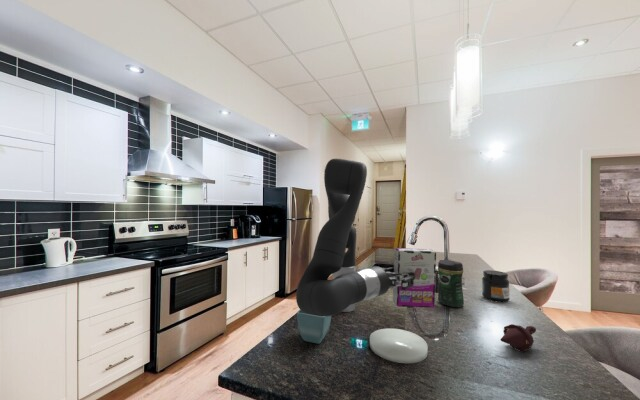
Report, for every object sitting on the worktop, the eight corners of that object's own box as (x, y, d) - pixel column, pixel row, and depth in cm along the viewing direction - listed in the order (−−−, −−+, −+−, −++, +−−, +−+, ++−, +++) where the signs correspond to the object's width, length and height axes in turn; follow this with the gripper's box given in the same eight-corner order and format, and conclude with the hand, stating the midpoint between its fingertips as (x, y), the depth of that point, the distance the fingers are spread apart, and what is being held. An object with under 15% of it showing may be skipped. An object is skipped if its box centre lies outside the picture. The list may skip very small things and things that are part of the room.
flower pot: (332, 335, 82) (332, 306, 83) (323, 349, 74) (324, 316, 74) (306, 330, 85) (307, 302, 86) (295, 343, 77) (296, 312, 77)
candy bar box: (427, 301, 80) (429, 248, 81) (434, 308, 75) (437, 251, 76) (391, 300, 80) (393, 247, 80) (396, 306, 75) (399, 250, 75)
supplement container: (512, 304, 113) (511, 276, 113) (483, 300, 117) (483, 273, 118) (507, 297, 122) (506, 271, 123) (480, 294, 127) (480, 269, 127)
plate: (364, 355, 71) (364, 348, 71) (374, 330, 86) (374, 325, 86) (428, 369, 65) (428, 361, 65) (427, 340, 80) (427, 334, 80)
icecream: (519, 338, 69) (550, 333, 75) (492, 320, 76) (523, 317, 82) (511, 361, 70) (542, 354, 76) (485, 341, 77) (516, 336, 83)
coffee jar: (467, 306, 109) (466, 261, 110) (454, 309, 106) (454, 263, 107) (447, 299, 118) (446, 257, 119) (434, 301, 115) (434, 259, 115)
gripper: (392, 274, 61) (426, 265, 72) (346, 263, 72) (382, 256, 83) (391, 306, 61) (425, 292, 72) (346, 290, 72) (381, 280, 83)
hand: (402, 273), depth 78 cm, fingers closed on candy bar box, 6 cm apart
